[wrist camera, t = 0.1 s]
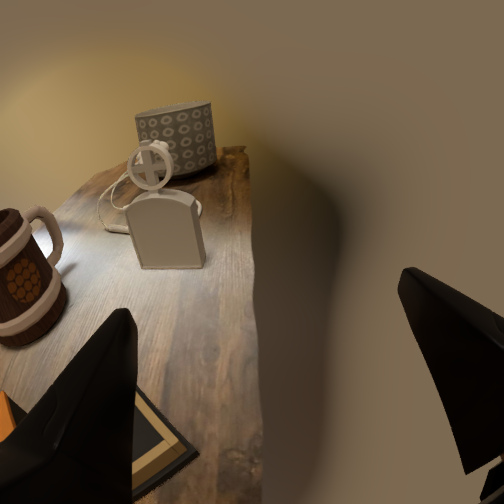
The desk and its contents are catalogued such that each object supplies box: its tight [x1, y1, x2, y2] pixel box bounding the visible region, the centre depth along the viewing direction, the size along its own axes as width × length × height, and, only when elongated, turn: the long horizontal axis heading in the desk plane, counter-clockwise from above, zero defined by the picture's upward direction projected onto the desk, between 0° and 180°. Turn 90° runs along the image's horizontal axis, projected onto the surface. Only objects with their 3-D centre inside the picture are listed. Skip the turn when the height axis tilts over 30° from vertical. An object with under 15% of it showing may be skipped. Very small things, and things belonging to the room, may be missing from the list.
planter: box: [135, 101, 217, 180], centre depth 70 cm, size 19×19×18 cm
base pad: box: [132, 386, 199, 503], centre depth 19 cm, size 9×9×4 cm
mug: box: [0, 205, 66, 347], centre depth 32 cm, size 20×15×15 cm
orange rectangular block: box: [0, 391, 27, 442], centre depth 14 cm, size 5×5×8 cm
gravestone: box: [123, 139, 206, 269], centre depth 37 cm, size 3×9×18 cm, turn 86°
